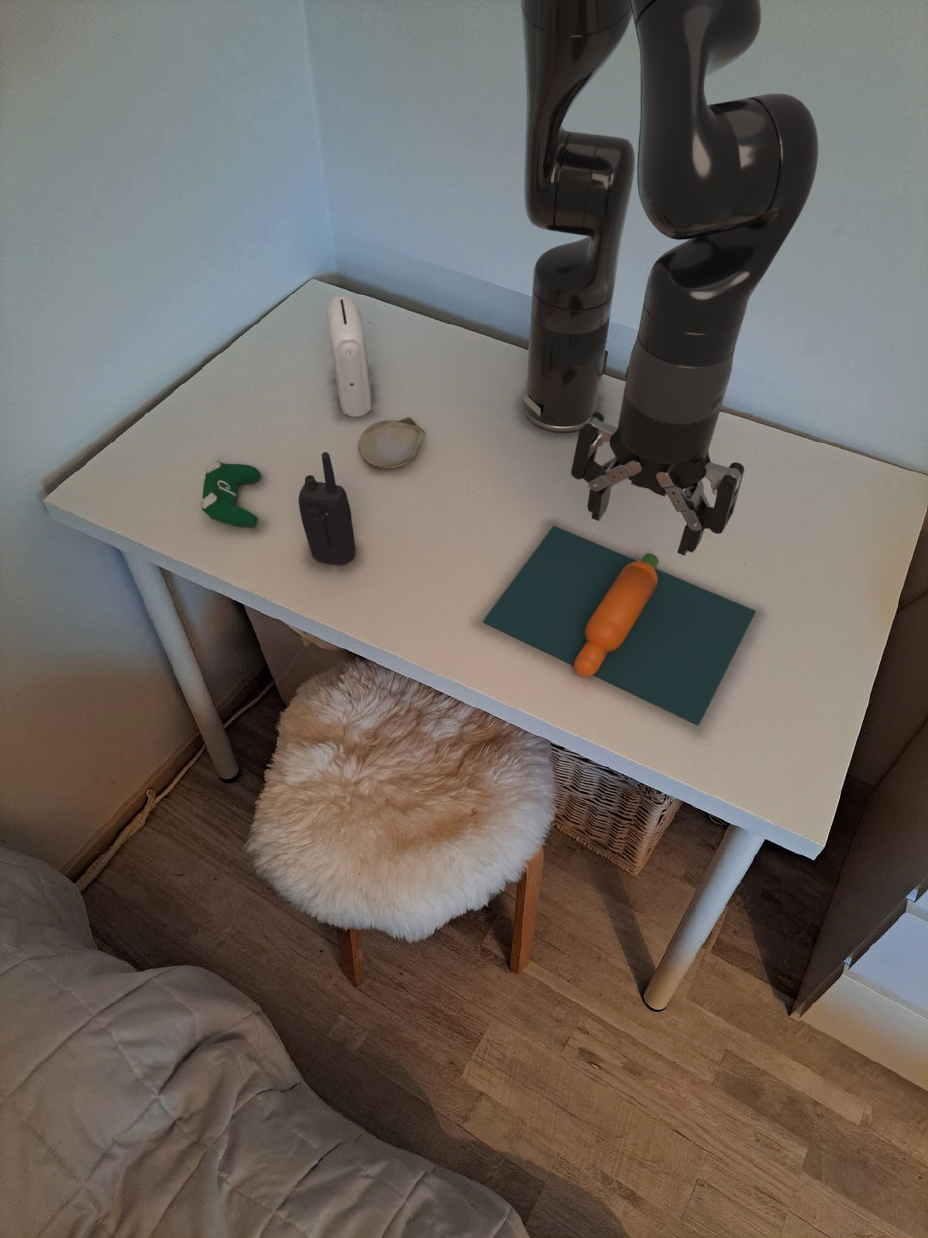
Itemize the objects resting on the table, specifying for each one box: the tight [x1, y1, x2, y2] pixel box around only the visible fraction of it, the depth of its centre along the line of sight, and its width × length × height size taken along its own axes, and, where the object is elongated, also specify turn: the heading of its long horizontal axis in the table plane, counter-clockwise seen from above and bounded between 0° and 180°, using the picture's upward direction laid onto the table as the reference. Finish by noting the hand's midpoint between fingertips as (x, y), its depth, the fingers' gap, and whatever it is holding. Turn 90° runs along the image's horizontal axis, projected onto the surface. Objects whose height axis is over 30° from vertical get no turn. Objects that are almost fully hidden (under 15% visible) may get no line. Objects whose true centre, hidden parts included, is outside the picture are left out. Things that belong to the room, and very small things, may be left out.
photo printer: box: [326, 295, 372, 418], centre depth 106 cm, size 10×4×12 cm, turn 10°
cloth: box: [482, 525, 757, 726], centre depth 88 cm, size 16×24×1 cm, turn 58°
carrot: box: [573, 552, 660, 678], centre depth 86 cm, size 17×4×4 cm, turn 148°
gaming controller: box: [201, 459, 262, 528], centre depth 97 cm, size 9×4×6 cm
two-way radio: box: [298, 451, 357, 566], centre depth 87 cm, size 6×4×15 cm
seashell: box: [358, 416, 427, 470], centre depth 103 cm, size 8×3×8 cm
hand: (640, 531), depth 77 cm, fingers open, 8 cm apart
